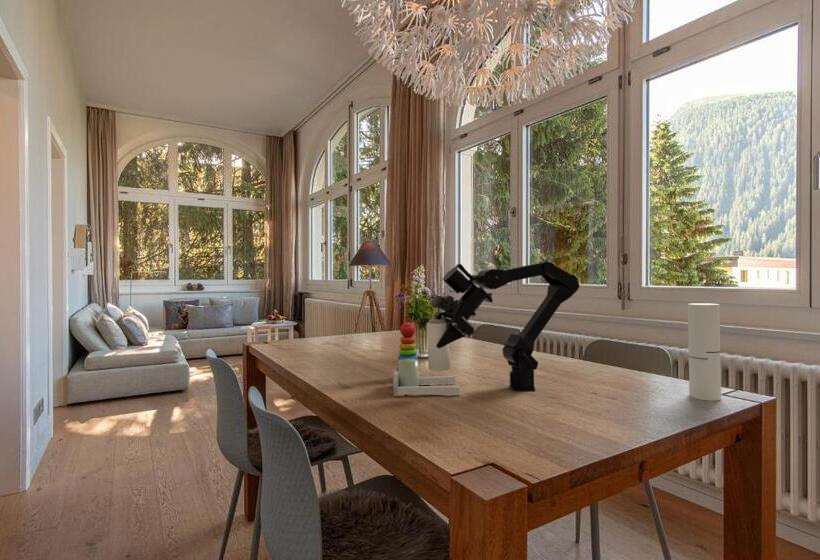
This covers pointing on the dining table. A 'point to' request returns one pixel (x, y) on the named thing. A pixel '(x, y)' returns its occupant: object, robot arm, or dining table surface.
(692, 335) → the cylindrical container
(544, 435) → the dining table surface
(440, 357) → the cream jar
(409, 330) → the stacking toy
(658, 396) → the dining table surface
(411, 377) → the grey-green cylinder
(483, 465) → the dining table surface
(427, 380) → the white u-shaped frame
